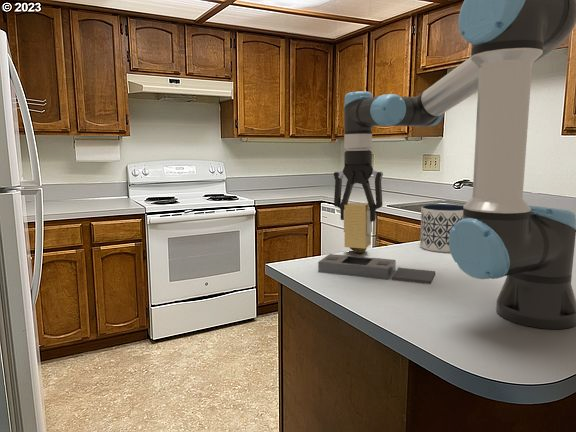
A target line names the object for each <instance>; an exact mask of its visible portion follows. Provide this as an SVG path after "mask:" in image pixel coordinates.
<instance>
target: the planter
mask: <svg viewBox="0 0 576 432" xmlns="http://www.w3.org/2000/svg"><path fill="white" fill-rule="evenodd" d="M463 206H464V205H462V204H451V203H450V204H449V203H446V204H445V203H442V204H441V203H435V204H434V203H433V204H424V205H422V206H421V207H420V210H421V211H420V215H421V216H420V235H419V236H420V241H419V243H420V245H419V246H420V247H421V248H422V249H424V250H427V251H430V252H434V253H435V252H436V253H445V254H446V253H447V254H451V252H450V248H449V234H450V231H451V229H452V227H454V225H455V224H456V223H457V222H458V221H460V220H462V219H463Z"/></svg>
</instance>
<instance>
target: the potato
mask: <svg viewBox="0 0 576 432" xmlns="http://www.w3.org/2000/svg"><path fill="white" fill-rule="evenodd" d="M348 248H349V249H350V250H352V251H353V252H355V253H357V254H363V253H365V252H366V250H367V248H368V247H367V248H365V249H364V248H351V247H348Z"/></svg>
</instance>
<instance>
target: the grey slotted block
mask: <svg viewBox="0 0 576 432" xmlns="http://www.w3.org/2000/svg"><path fill="white" fill-rule="evenodd" d="M396 262H397V260H396V259H390V258H389V259H388V258H381V257H380V258H378V257H368V256H367V257H366V256H356V255H346V254H334V253H330V254H328V255H326V256H324V257H323V258H322V259H319V261H318V262H317V263H318V264H317V266H318V270H317V271H318V273H325V274H335V275H345V276H354V277H363V278H371V279H382V280H389V279H390V278H391V277H392V276H393V275H394V273H395V272H396Z"/></svg>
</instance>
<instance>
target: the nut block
mask: <svg viewBox="0 0 576 432" xmlns="http://www.w3.org/2000/svg"><path fill="white" fill-rule="evenodd" d="M369 209H370V208H369V204H368V202H355V201H354V202H353V201H352V202H348V204H345V205H344V220H343V222H344V221H345V232H344V248H349V247H351V248H364V249H365V248H368V247H369V246H370V245H371V244H372V232H371V233H370V234H367V210H369Z"/></svg>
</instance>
